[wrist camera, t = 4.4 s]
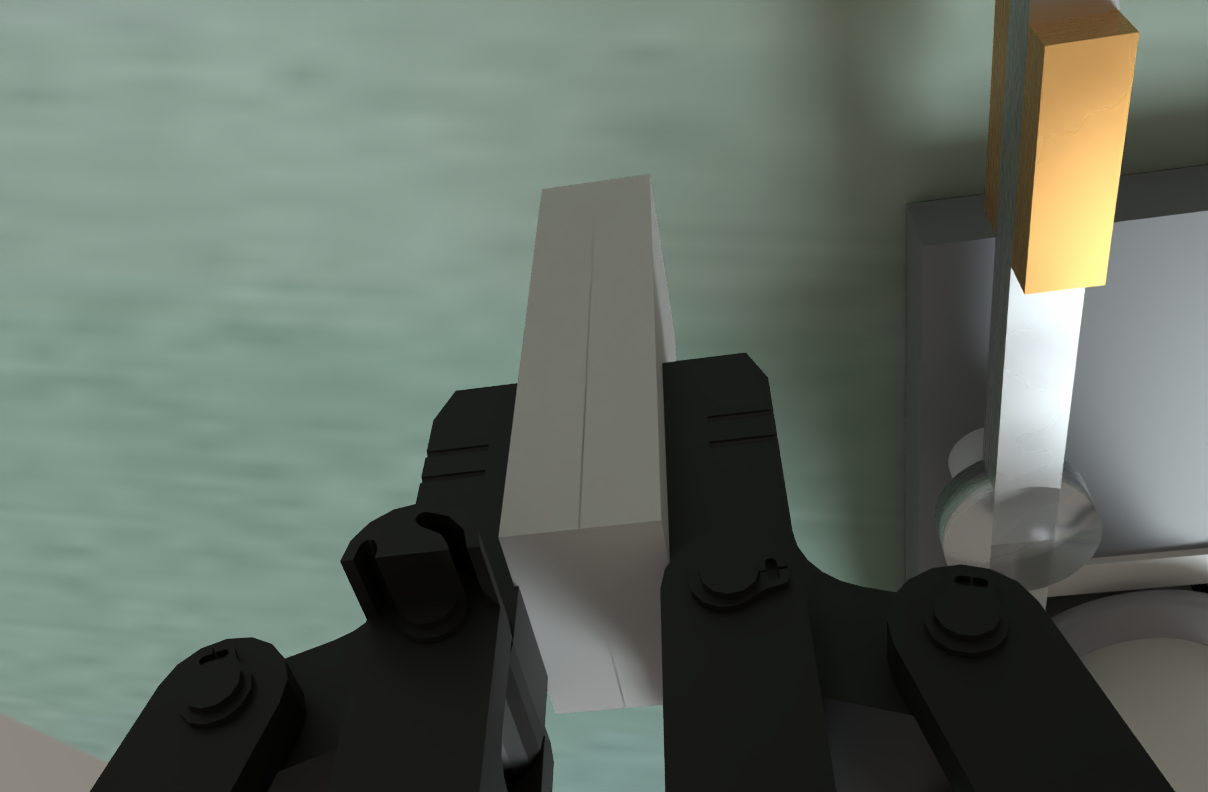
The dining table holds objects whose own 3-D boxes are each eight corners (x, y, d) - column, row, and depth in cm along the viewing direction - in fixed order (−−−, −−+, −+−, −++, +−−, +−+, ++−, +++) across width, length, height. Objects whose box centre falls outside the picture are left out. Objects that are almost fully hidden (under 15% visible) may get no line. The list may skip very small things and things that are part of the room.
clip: (1145, -77, 16) (1218, -17, 14) (1040, 727, 29) (1070, 821, 26) (936, -44, 17) (977, 19, 15) (921, 735, 29) (942, 828, 27)
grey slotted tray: (1456, 132, 21) (1557, 209, 18) (1214, 856, 36) (1251, 946, 34) (906, 204, 22) (936, 285, 20) (904, 874, 38) (921, 961, 35)
